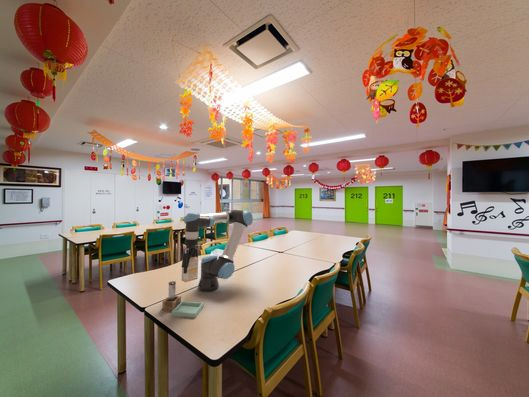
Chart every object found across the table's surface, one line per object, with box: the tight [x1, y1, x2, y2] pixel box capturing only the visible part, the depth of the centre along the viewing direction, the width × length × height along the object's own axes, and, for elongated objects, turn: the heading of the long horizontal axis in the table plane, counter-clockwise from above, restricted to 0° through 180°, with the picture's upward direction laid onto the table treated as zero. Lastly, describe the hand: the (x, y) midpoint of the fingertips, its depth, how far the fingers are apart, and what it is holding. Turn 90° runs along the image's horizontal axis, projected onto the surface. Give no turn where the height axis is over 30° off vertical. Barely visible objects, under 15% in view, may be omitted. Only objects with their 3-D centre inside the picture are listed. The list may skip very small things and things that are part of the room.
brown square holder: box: [162, 295, 182, 312], centre depth 124 cm, size 8×8×5 cm
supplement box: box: [181, 257, 199, 283], centre depth 123 cm, size 8×5×13 cm, turn 139°
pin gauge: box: [167, 280, 177, 301], centre depth 124 cm, size 4×4×15 cm
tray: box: [171, 300, 205, 319], centre depth 120 cm, size 12×14×2 cm
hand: (189, 275), depth 122 cm, fingers closed on supplement box, 9 cm apart
